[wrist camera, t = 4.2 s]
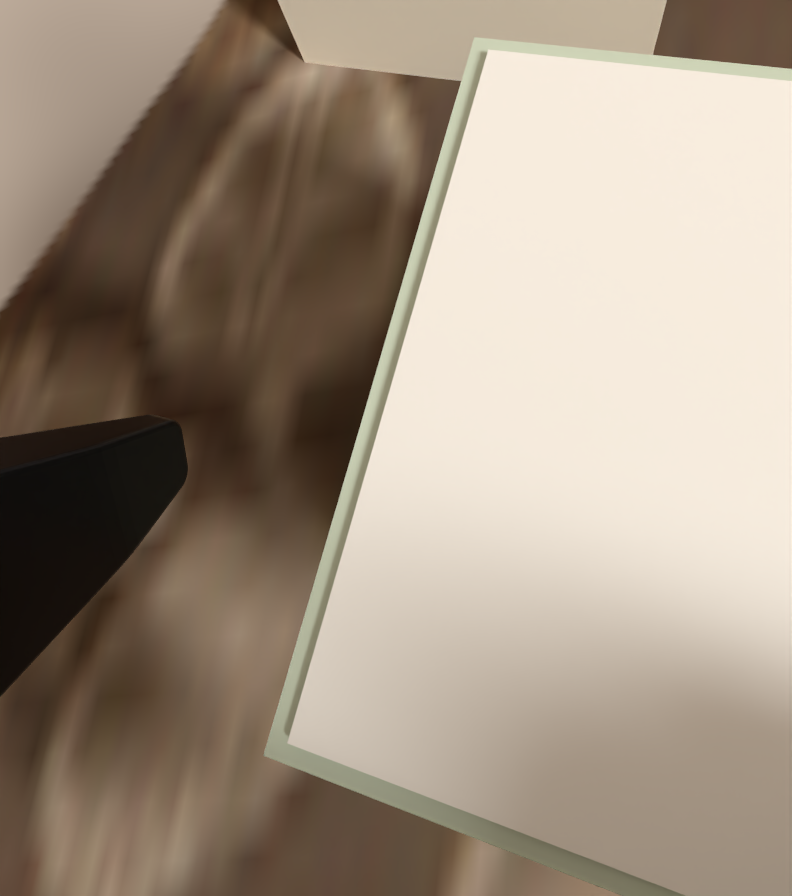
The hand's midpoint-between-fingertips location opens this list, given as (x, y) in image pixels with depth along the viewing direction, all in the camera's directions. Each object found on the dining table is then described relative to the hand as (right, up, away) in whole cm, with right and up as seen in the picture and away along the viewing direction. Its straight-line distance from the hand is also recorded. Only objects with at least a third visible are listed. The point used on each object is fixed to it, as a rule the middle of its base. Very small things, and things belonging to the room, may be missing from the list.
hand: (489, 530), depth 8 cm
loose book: (+3, -1, +8) cm, 8 cm away
